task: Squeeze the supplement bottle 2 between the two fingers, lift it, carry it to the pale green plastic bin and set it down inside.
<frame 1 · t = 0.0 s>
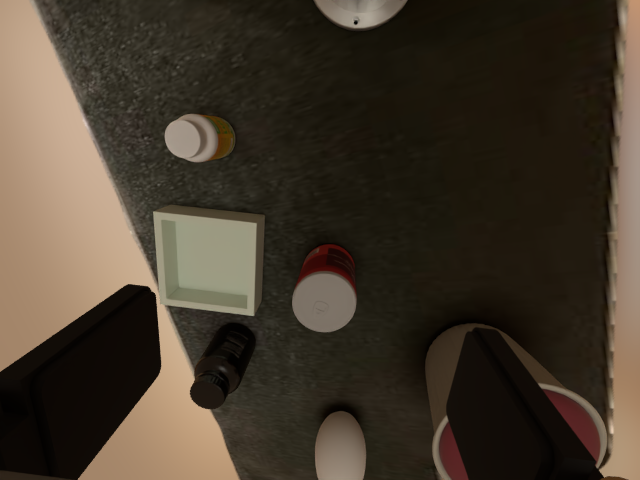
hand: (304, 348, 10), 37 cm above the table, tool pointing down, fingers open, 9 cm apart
canister: (465, 353, 52), on the table
supplement bottle: (236, 339, 54), on the table
canned food: (329, 266, 49), on the table
supplement bottle 2: (217, 137, 44), on the table
bin: (217, 254, 50), on the table
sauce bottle: (341, 415, 58), on the table
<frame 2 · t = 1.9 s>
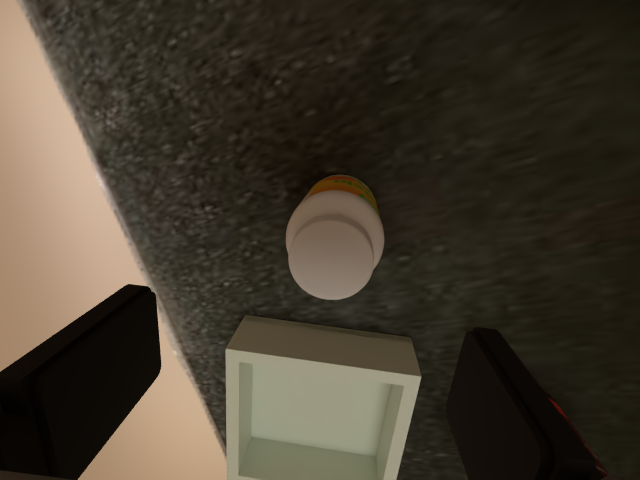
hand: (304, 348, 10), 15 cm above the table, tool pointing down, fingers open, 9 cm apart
canned food: (509, 417, 29), on the table
supplement bottle 2: (339, 209, 24), on the table
bin: (319, 391, 30), on the table
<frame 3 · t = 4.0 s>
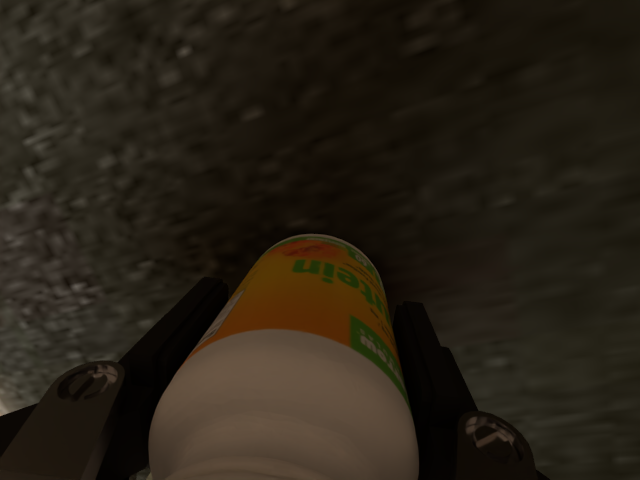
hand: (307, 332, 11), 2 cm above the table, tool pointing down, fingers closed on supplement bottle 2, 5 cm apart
supplement bottle 2: (315, 293, 13), on the table, touching gripper
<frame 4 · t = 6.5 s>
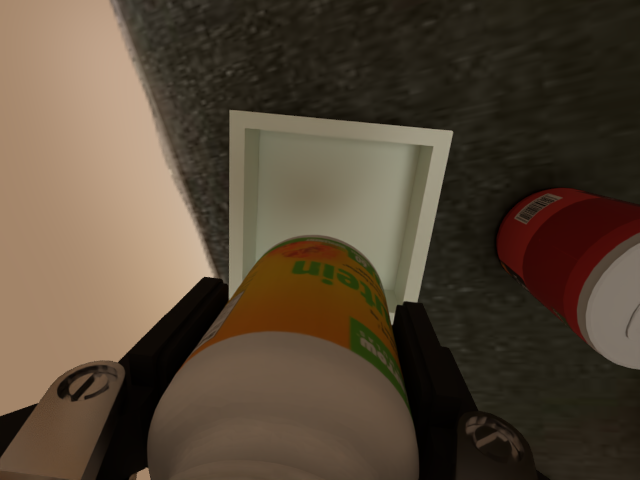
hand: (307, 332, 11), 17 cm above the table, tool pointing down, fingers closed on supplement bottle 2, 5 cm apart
canned food: (541, 234, 26), on the table
supplement bottle 2: (315, 294, 13), point 14 cm above the table, touching gripper
bin: (331, 212, 27), on the table
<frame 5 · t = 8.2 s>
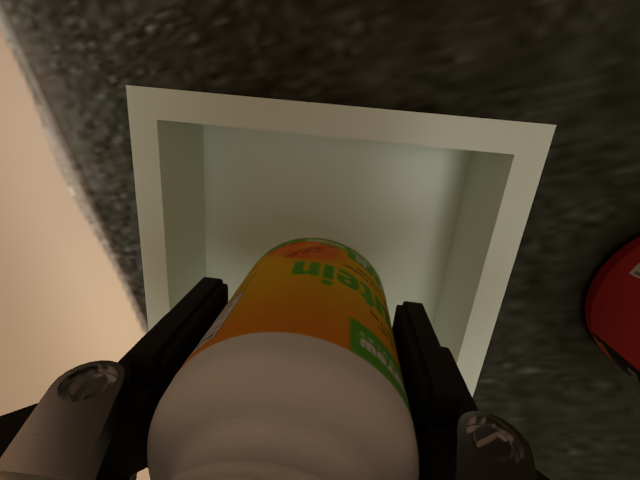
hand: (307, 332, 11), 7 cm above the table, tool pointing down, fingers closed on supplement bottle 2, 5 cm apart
supplement bottle 2: (315, 294, 13), point 4 cm above the table, touching gripper
bin: (323, 254, 17), on the table
when the fingers open (5 cm above the table, at t = 9.4 s): supplement bottle 2 drops 2 cm, resting on bin.
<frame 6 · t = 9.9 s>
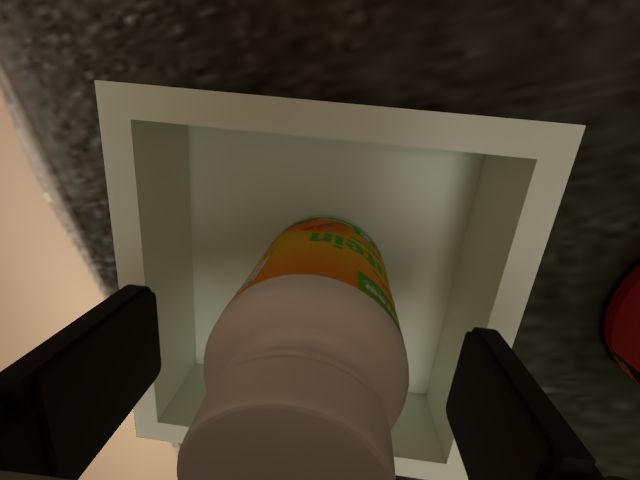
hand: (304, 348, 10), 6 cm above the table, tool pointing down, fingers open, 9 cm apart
supplement bottle 2: (324, 268, 15), point 1 cm above the table, touching bin
bin: (320, 266, 16), on the table
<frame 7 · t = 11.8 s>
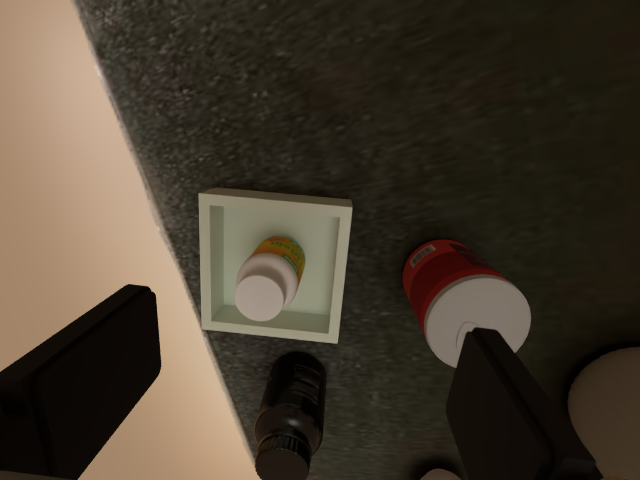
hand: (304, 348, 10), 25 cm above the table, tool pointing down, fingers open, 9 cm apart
canister: (618, 387, 38), on the table
supplement bottle: (299, 374, 40), on the table
canned food: (436, 271, 35), on the table
supplement bottle 2: (281, 257, 35), point 1 cm above the table, touching bin
bin: (280, 257, 36), on the table
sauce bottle: (436, 473, 43), on the table
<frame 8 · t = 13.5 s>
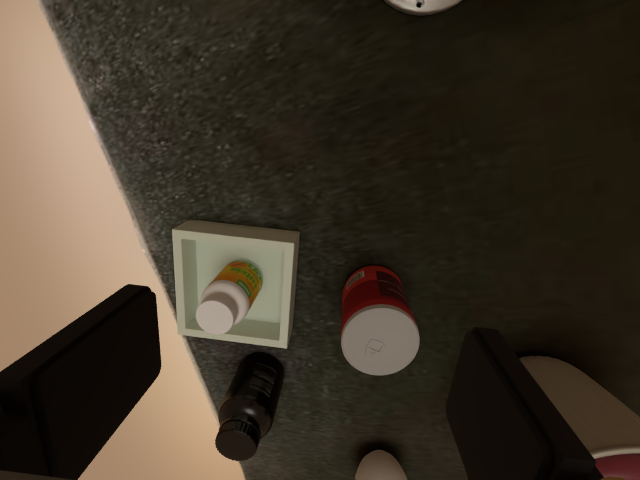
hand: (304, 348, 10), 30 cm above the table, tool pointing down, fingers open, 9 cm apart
canister: (525, 387, 45), on the table
supplement bottle: (262, 370, 48), on the table
canned food: (372, 290, 43), on the table
supplement bottle 2: (243, 277, 43), point 1 cm above the table, touching bin
bin: (243, 276, 43), on the table
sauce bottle: (378, 453, 51), on the table
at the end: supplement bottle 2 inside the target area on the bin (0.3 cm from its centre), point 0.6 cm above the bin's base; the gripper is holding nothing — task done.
